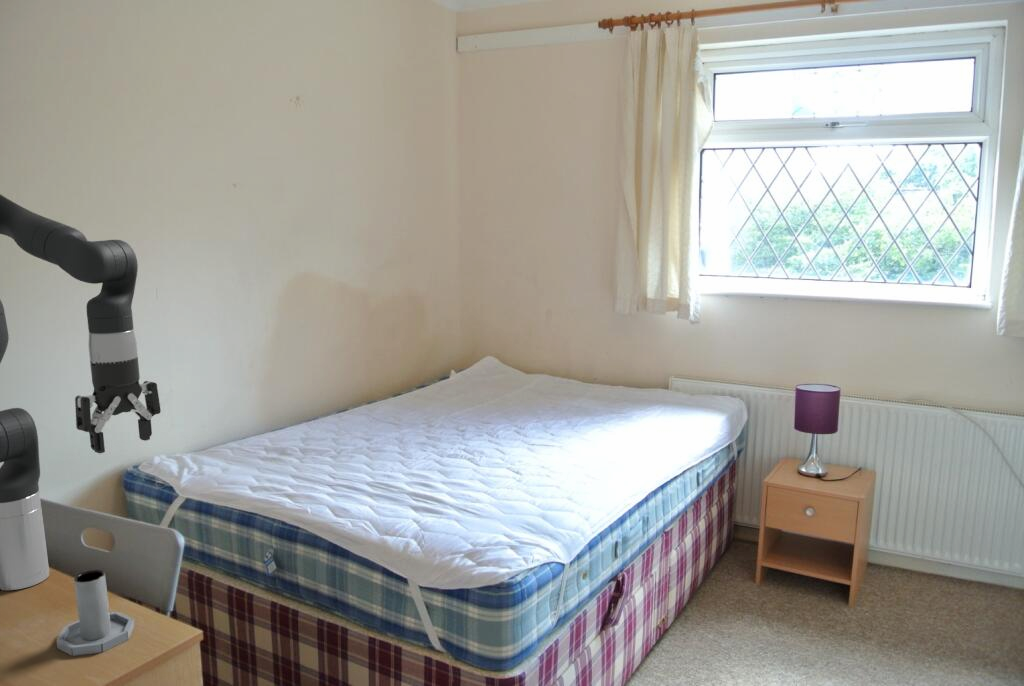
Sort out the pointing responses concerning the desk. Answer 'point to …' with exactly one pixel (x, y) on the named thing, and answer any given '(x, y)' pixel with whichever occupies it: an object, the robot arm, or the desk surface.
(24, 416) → the robot arm
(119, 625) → the saucer
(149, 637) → the desk surface
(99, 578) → the planter
